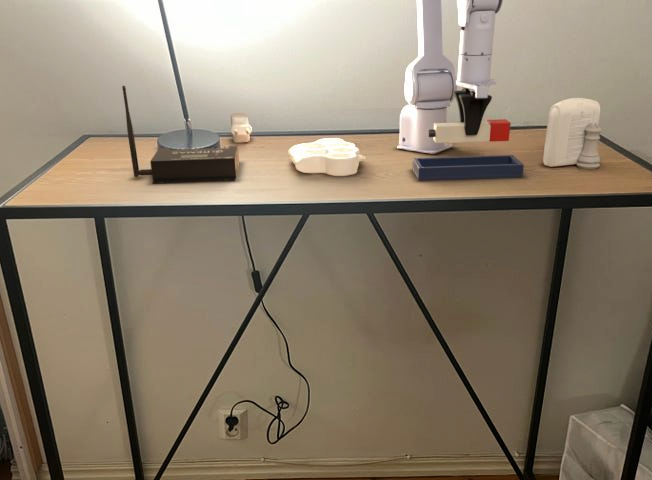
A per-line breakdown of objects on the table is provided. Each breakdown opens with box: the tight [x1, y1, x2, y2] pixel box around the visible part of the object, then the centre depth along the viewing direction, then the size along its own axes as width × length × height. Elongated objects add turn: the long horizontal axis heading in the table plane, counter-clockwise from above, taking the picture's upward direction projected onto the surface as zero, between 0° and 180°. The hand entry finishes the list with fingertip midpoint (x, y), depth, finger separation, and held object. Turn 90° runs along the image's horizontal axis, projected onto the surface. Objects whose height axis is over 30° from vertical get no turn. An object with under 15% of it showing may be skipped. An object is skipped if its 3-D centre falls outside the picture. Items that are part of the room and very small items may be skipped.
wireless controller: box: [121, 85, 240, 185], centre depth 139 cm, size 20×14×17 cm
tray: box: [412, 154, 525, 182], centre depth 137 cm, size 20×8×2 cm, turn 92°
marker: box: [428, 118, 512, 144], centre depth 134 cm, size 15×3×3 cm, turn 92°
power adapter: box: [229, 112, 253, 144], centre depth 164 cm, size 11×5×6 cm, turn 9°
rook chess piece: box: [575, 123, 604, 170], centre depth 138 cm, size 4×4×8 cm
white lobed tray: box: [288, 137, 367, 177], centre depth 145 cm, size 3×18×15 cm
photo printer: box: [542, 97, 601, 168], centre depth 140 cm, size 10×4×12 cm, turn 110°
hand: (469, 132), depth 134 cm, fingers closed on marker, 3 cm apart
